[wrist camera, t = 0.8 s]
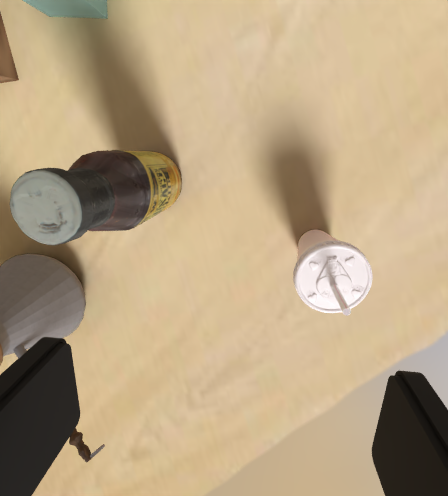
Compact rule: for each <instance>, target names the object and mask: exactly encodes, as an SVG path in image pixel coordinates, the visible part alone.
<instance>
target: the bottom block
mask: <svg viewBox="0 0 448 496" xmlns="http://www.w3.org/2000/svg"><path fill="white" fill-rule="evenodd" d="M17 80H19V79H18V75H17V72H16V68H15V64H14V61H13V57H12V53H11V50H10V46H9V42H8V38H7V35H6V31H5V27H4V24H3V20H2V16H1V13H0V83H4V82H11V81H17Z"/></svg>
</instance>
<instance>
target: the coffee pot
mask: <svg viewBox="0 0 448 496" xmlns="http://www.w3.org/2000/svg"><path fill="white" fill-rule="evenodd" d="M85 305H86V301H85V293H84V290H83V287H82V285H81V283H80V281H79V280H78V278H77V277H76V275H75V274H74V273H73V272H72V271H71V270H70V269H69V268H68V267H67V266H66V265H65V264H63V263H61V262H60V261H58V260H56V259H54V258H51V257H48V256H45V255H38V254H23V255H18V256H14V257H12V258H10V259H9V260H7V261H5V262H4V263H3V264H2V265H1V266H0V365H1V363H2V361H3V356H5V355H9V354H12V353H15V354H16V355H17V357H18V358H20V357H21V356H22V355H23V354H24V353H25V352H26V351H27V350H26V349H29V348H31V347H32V346H33V345H34V344H35V343H36V342H38V341H39V340H40V339H41V338H43V337H54V338H64V337H66V336H68V335H70V334H71V333H72V332H73V331H75V330H76V329H77V328H78V326H79V324H80V322H81V321H82V319H83V316H84V311H85ZM82 436H83V434H82V433H81V432H77V430H76V428H75V429H74V431H73V432H72V434H71V435H70V441H69V443H70V445H74V446H76V448H77V449H78V453H79V455H80V456H81V457H82V458H83V459H84V460H85V462H88V461H89V460H91V458H92V457H94V456H95V455H96V454H97V453H98V452H99V451H100V450H101V449H102V448H103V447H104V446H105V445H104V444H103V445H102V446H101V447H99V448H98V449H97V450H96V451H95V452H94V453H92V454H91V452H90V450H89V448H88V446H87V445H85V444H84V442H83V441H82Z"/></svg>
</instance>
